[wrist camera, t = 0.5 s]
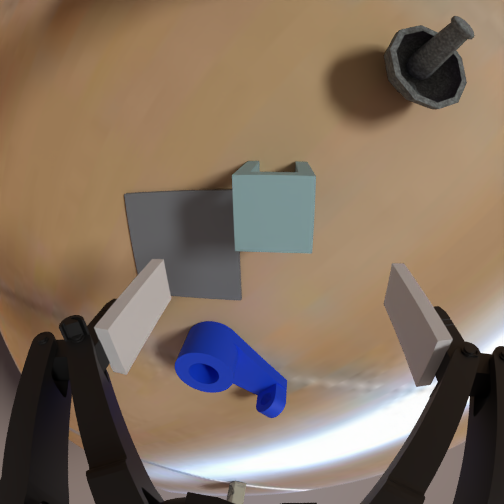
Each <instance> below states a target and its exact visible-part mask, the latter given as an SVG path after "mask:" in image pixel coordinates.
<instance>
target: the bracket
mask: <svg viewBox="0 0 504 504" xmlns="http://www.w3.org/2000/svg"><path fill="white" fill-rule="evenodd" d="M175 370H176V373H177V375H178V376H179V378H180V379H181V380H182V381H183V382H184V383H186V384H187V385H189V386H190V387H192V388H195V389H197V390H200V391H204V392H221V391H224V390H226V389H228V388H229V387H230V386H231V385H232V383H233V384H235V385H237V386H239V387H241V388H244V389H246V390H248V391H250V392H252V393H254V394H256V395H258V397H257V404H256V409H257V411H258V412H260V413H262V414H264V415H266V416H267V417H269V418H274V417H276V416H278V415H279V414H280V413H281V412H282V411H283V409H284V407H285V404H286V389H287V380H286V379H285V378H284V377H283V376H282V375H280V374H279V373H278V372H277V371H276V370H275V369H274V368H273V367H272V366H270V365H269V364H268V363H267V362H266V361H265V360H264V359H263V358H262V357H261V356H260V355H258V354H257V353H256V352H255V351H254V350H253V349H252V348H251V347H250V346H249V345H248V344H247V343H246V342H245V341H244V340H242V339H241V338H240V337H239V336H238V335H237V334H236V333H235V332H234V331H233V330H232V329H231V328H229V327H227V326H226V325H223V324H221V323H218V322H212V321H205V322H200V323H198V324H196V325H194V326H193V327H192V328H191V329H190V331H189V333H188V335H187V338H186V340H185V342H184V344H183V347H182V349H181V351H180V353H179V356H178V358H177V360H176V363H175Z"/></svg>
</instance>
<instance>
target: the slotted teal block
mask: <svg viewBox="0 0 504 504" xmlns="http://www.w3.org/2000/svg"><path fill="white" fill-rule="evenodd" d="M315 186H316V176H315V174H314V172H313V171H312V169H311V167H310V166H309V164H308V162H296V171H295V172H259V161H247V162H246V163H245V164H244V165H243V166H242V167H240V168H239V169H238V170H237V171H236V172H235V173H234V174H233V175H232V191H233V215H234V238H235V251H247V252H282V253H312V245H313V229H314V210H315Z"/></svg>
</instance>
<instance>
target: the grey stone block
mask: <svg viewBox="0 0 504 504" xmlns="http://www.w3.org/2000/svg"><path fill="white" fill-rule="evenodd" d="M245 489H246V484H245V483H242V482H237V481H234V482H232V483H230V485H229V490H228V495H227V501H229V502H232V503H235V504H243V501H244V495H245Z"/></svg>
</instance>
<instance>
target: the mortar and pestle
mask: <svg viewBox="0 0 504 504" xmlns="http://www.w3.org/2000/svg"><path fill="white" fill-rule="evenodd" d="M473 37H474V32H473V30H472V28H471V27H470V25H469V24H468V23H467V22H466V21H465V20H463V19H462V18H460V17H458V16H454V17H452V18H451V23H450V24H448V25H447V26H446V27H445V28H443V29H442V30H441V31H440V32H439V33H437V32H435V31H433V30H431V29H429V28H426V27H424V26H422V25H420V26H415V27H410V28H406V29H402V30H399V31H398V32H397V33H396V34H395V36H394V37H393V39H392V41H391V43H390V45H389V47H388V49H387V50H386V52H385V54H384V59H385V63H386V71H387V76H388V81H389V82H390V83H391V84H392V85H393V86H394V88H395V89H396V90H397V91H398V92H399V93H401V94H402V96H403V97H404V98H405V99H406V100H409V101H411V102H414V103H417V104H419V105H422V106H424V107H427V108H430V109H440V108H443V107H446V106H449V105H452V104H455V103H458V102H459V99H460V97H461V95H462V93H463V90H464V88H465V86H466V83H467V82H466V77H465V71H464V66H463V62H462V58H461V56H460V55H459V54H458V52H457V51H456V50H457V49H458V48H459V47H460V46H461V45H462V44H463V43H464V42H465V41H466V40H467V39H472V38H473Z"/></svg>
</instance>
